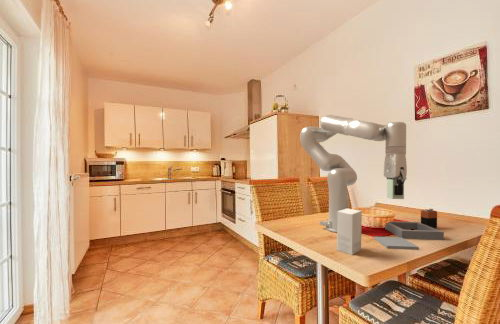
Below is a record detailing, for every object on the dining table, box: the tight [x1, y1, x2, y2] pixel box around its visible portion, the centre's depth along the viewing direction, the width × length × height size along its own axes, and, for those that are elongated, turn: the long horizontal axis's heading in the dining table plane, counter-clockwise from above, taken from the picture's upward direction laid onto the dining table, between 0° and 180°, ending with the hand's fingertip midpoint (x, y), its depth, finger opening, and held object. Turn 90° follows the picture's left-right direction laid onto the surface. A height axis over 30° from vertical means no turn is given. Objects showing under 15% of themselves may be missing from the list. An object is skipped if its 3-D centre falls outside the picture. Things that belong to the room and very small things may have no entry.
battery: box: [420, 208, 438, 229], centre depth 126 cm, size 4×7×10 cm, turn 108°
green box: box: [386, 178, 405, 200], centre depth 100 cm, size 4×4×8 cm
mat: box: [373, 236, 420, 250], centre depth 100 cm, size 12×12×1 cm
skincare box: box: [336, 208, 363, 256], centre depth 92 cm, size 8×7×16 cm
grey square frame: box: [384, 220, 445, 241], centre depth 115 cm, size 18×18×4 cm
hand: (395, 193), depth 100 cm, fingers closed on green box, 4 cm apart
